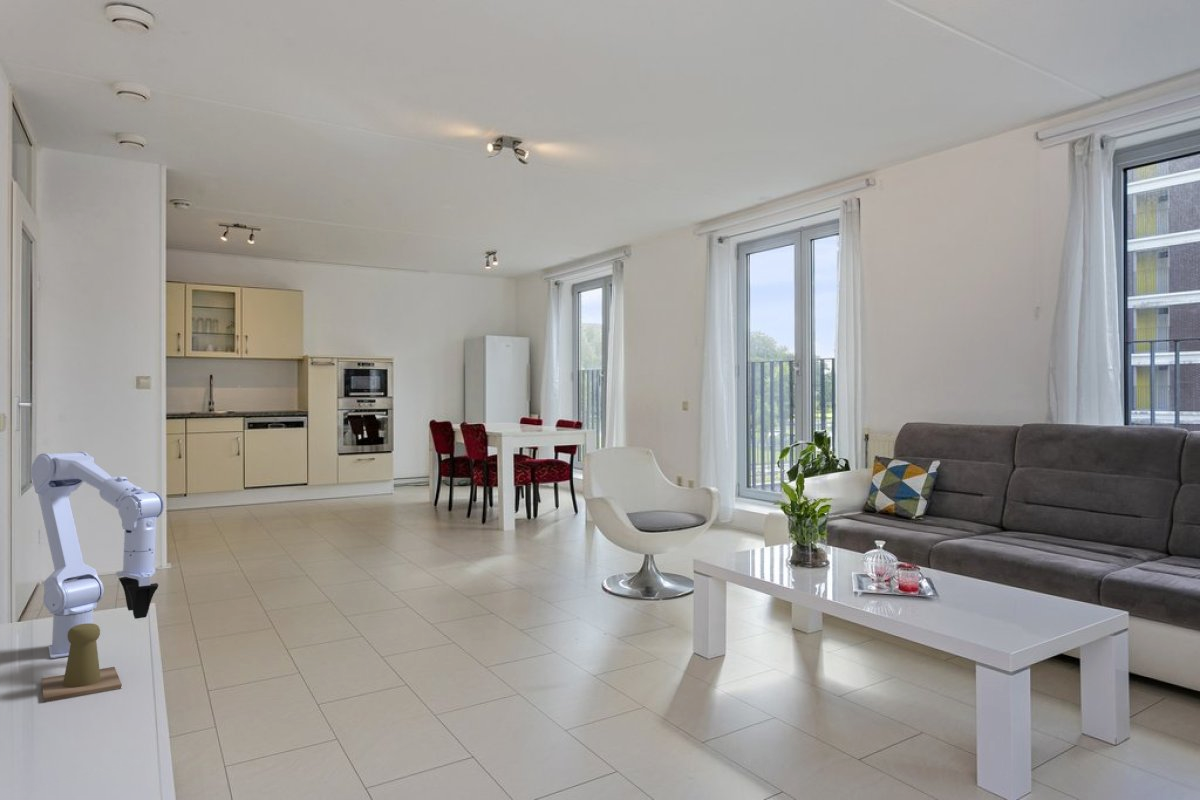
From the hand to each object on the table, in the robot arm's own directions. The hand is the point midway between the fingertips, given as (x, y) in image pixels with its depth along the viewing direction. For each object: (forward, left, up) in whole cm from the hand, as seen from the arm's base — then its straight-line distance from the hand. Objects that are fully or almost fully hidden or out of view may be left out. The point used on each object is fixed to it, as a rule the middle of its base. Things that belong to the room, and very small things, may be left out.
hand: (137, 613), depth 156 cm
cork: (+9, -10, -10) cm, 17 cm away
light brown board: (+9, -10, -10) cm, 17 cm away
